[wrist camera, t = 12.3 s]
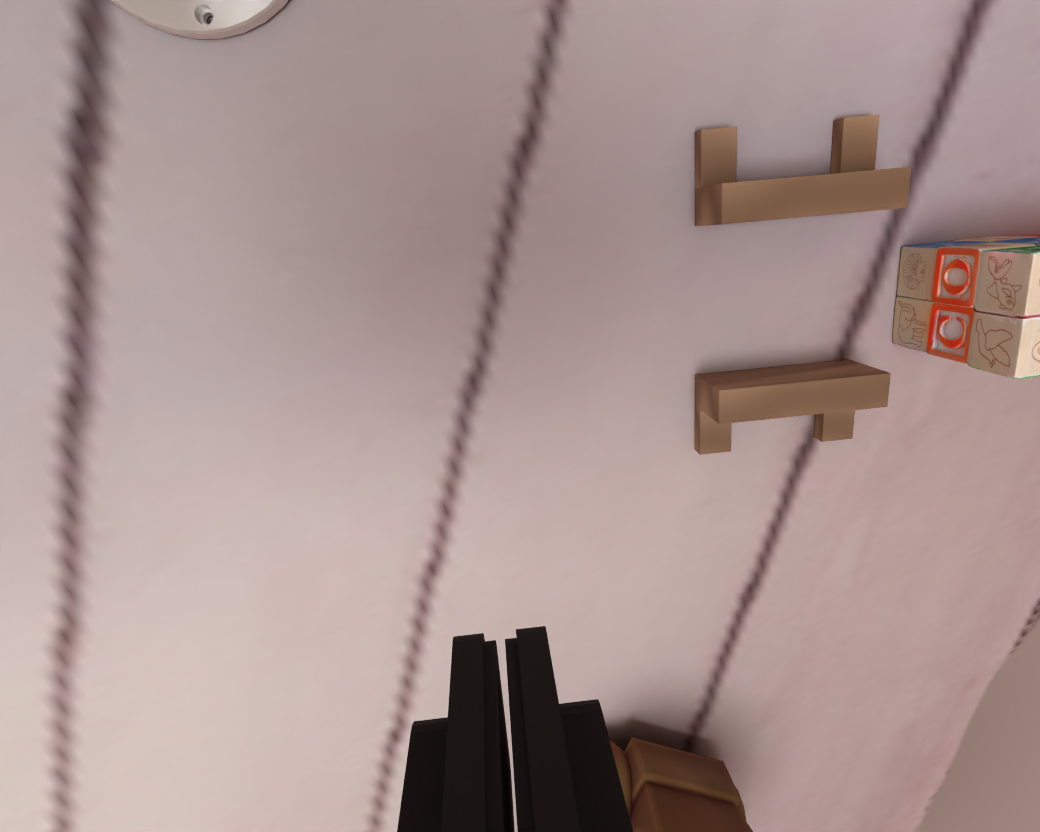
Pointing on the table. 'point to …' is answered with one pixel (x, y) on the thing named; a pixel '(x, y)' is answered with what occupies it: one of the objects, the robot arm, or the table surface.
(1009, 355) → the stack of blocks
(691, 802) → the wooden toy train
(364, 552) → the table surface
